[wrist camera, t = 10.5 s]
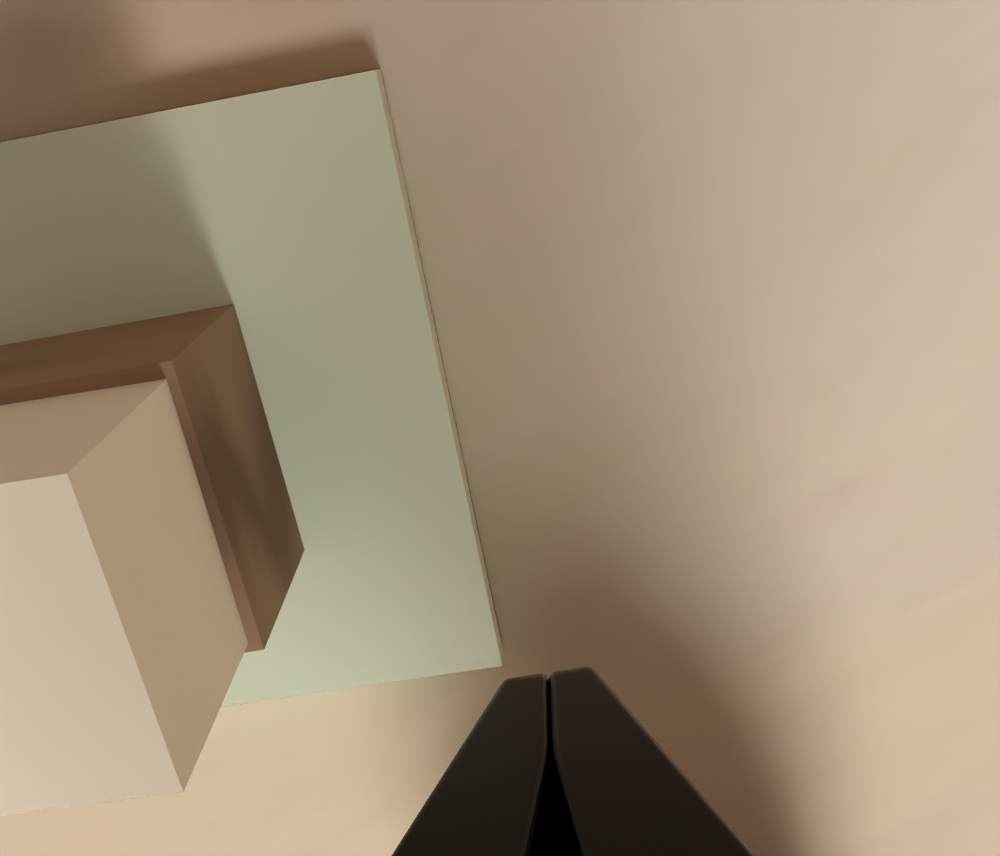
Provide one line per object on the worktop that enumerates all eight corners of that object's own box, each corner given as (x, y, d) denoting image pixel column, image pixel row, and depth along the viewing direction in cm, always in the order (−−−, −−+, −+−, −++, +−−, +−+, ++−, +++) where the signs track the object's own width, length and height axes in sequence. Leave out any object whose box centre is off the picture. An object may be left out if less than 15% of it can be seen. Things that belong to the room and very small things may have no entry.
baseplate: (502, 647, 24) (502, 666, 23) (-18, 724, 25) (-34, 744, 24) (380, 68, 19) (375, 69, 18) (-264, 193, 20) (-294, 199, 19)
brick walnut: (304, 550, 22) (264, 649, 18) (61, 588, 23) (-26, 693, 19) (233, 303, 20) (171, 360, 16) (-34, 351, 20) (-154, 417, 17)
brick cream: (248, 643, 18) (183, 792, 15) (-20, 680, 19) (-150, 835, 15) (166, 379, 16) (66, 473, 13) (-133, 426, 17) (-314, 532, 13)
